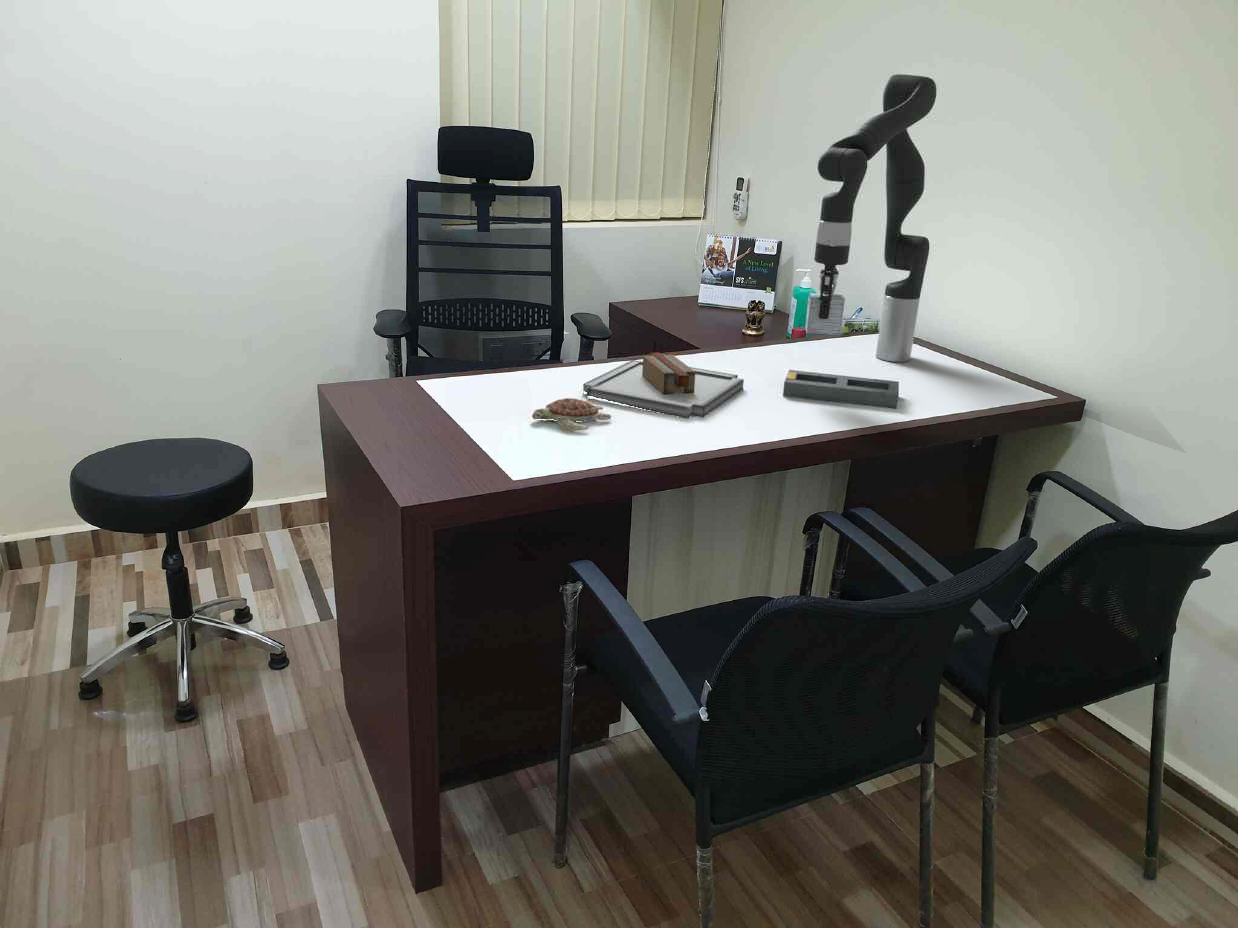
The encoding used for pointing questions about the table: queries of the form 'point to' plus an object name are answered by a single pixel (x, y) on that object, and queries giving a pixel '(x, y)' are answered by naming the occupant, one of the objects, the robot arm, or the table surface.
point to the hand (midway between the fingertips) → (824, 315)
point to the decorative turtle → (570, 413)
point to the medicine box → (824, 325)
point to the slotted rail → (841, 389)
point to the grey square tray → (665, 386)
